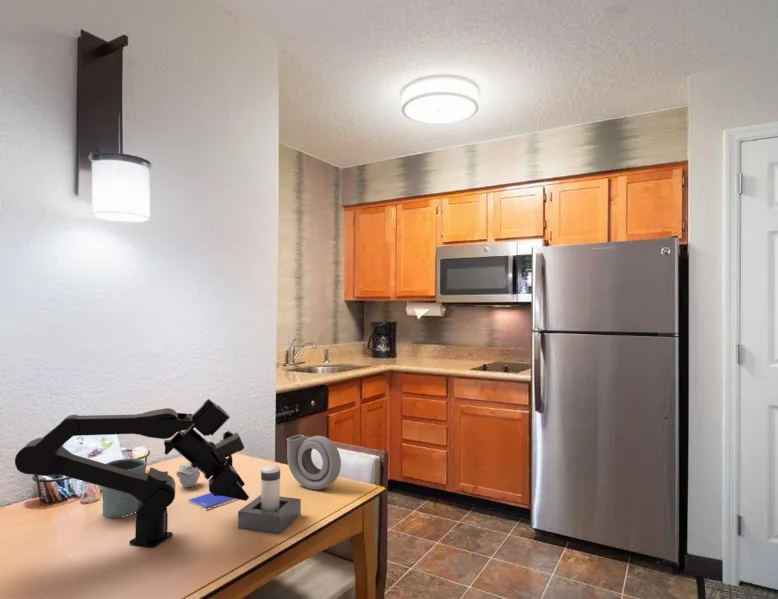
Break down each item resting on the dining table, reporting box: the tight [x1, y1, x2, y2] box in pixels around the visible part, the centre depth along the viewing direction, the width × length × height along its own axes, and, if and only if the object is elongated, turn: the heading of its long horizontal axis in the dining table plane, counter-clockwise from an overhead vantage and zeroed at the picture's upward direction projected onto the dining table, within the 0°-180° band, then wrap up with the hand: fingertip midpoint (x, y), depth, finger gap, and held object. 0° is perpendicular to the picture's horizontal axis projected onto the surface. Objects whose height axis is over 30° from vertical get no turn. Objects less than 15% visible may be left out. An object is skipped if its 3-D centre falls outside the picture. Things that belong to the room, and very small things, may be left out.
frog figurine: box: [176, 462, 201, 488], centre depth 144 cm, size 6×7×7 cm
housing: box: [237, 494, 302, 535], centre depth 122 cm, size 11×11×4 cm
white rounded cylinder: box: [260, 464, 281, 512], centre depth 122 cm, size 5×5×13 cm
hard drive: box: [188, 492, 236, 509], centre depth 135 cm, size 2×8×12 cm
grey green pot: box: [101, 458, 147, 518], centre depth 127 cm, size 10×10×12 cm
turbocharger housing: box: [286, 434, 342, 491], centre depth 145 cm, size 17×6×15 cm, turn 62°
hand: (245, 491), depth 120 cm, fingers open, 9 cm apart
